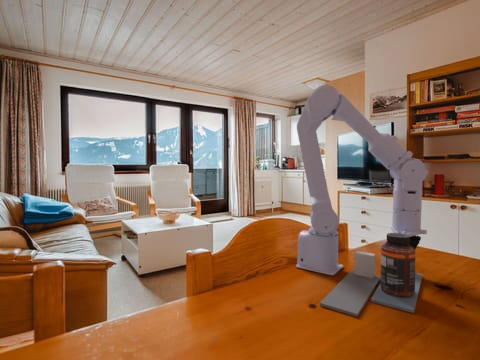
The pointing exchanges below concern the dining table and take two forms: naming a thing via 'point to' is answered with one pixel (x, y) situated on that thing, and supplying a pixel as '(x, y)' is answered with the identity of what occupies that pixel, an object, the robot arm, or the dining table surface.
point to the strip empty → (354, 286)
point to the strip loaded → (398, 297)
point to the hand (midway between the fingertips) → (404, 267)
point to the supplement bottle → (398, 265)
